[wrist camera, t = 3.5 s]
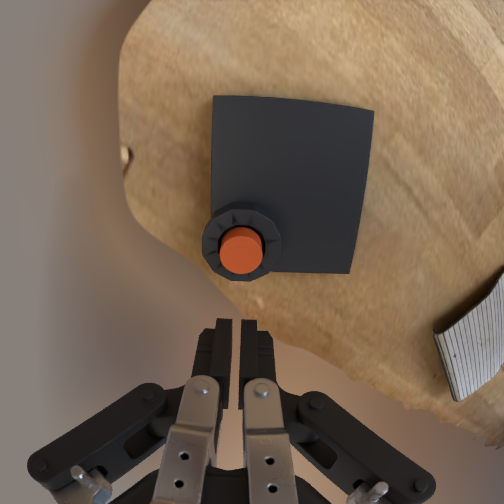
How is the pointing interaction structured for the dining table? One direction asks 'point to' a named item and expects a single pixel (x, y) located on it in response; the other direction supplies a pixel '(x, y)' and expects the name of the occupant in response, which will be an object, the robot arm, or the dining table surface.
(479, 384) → the mat
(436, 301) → the dining table surface
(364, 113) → the scale
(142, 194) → the dining table surface
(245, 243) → the button
